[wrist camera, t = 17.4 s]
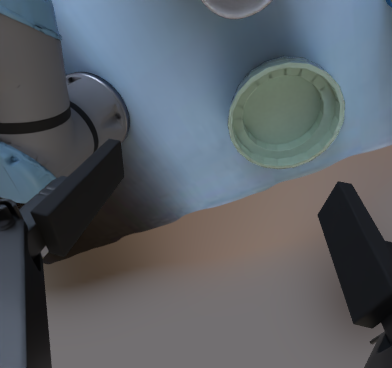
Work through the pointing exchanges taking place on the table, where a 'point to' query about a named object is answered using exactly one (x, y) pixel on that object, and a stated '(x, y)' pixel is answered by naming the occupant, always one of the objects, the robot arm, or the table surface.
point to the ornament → (389, 2)
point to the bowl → (285, 113)
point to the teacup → (236, 7)
